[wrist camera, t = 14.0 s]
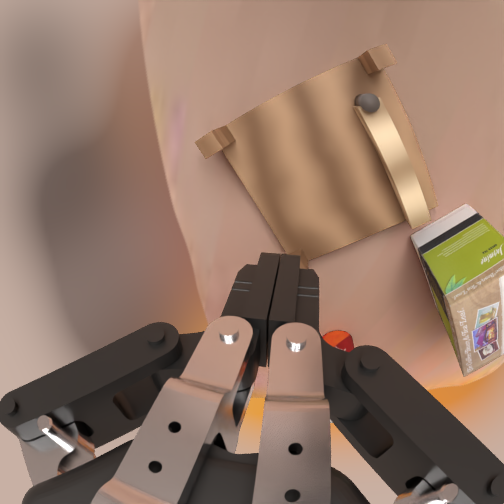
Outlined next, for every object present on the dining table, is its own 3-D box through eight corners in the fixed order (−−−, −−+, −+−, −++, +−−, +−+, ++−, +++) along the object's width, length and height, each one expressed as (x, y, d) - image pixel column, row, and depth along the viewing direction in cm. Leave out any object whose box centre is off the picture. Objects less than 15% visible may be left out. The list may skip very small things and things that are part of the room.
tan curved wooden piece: (348, 99, 24) (354, 99, 21) (368, 89, 23) (377, 89, 20) (404, 217, 29) (414, 232, 26) (422, 209, 28) (433, 223, 25)
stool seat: (369, 54, 22) (386, 43, 16) (432, 199, 29) (455, 224, 23) (217, 132, 31) (194, 142, 25) (295, 258, 37) (291, 291, 32)
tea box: (484, 278, 33) (522, 345, 20) (434, 306, 37) (461, 380, 25) (466, 199, 28) (528, 260, 16) (407, 233, 32) (447, 310, 20)
